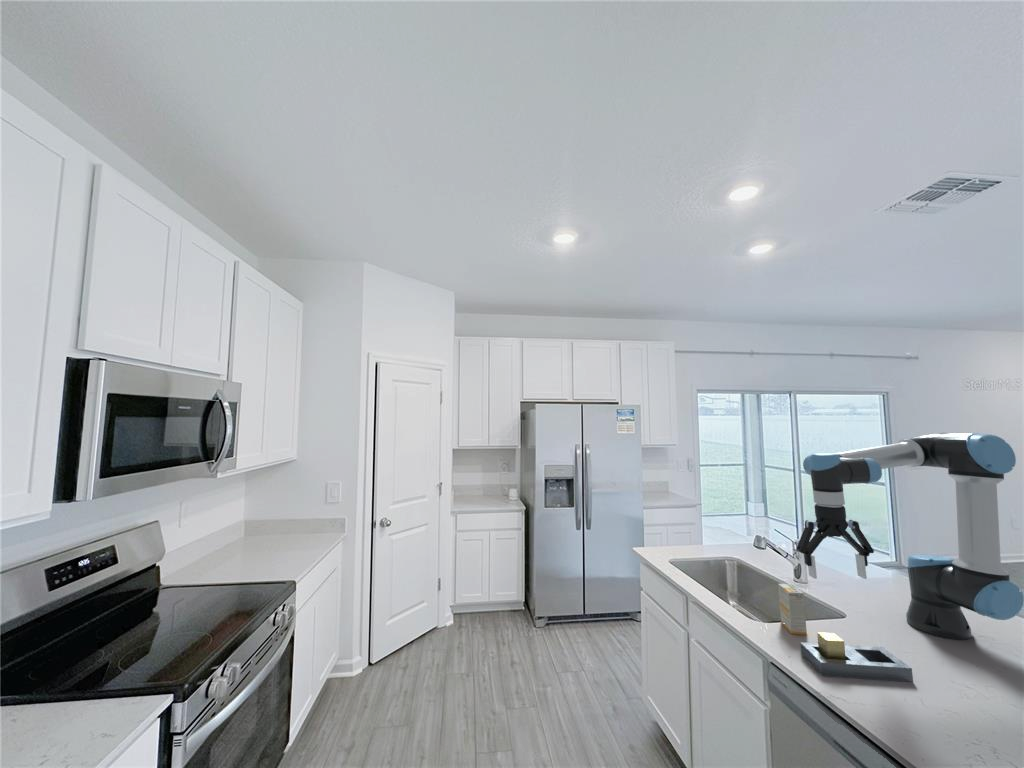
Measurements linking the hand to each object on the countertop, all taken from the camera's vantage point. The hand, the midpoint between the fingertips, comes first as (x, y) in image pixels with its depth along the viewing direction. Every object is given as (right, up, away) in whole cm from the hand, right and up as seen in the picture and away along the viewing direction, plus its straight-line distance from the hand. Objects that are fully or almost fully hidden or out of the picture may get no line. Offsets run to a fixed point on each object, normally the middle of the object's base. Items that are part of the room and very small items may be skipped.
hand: (837, 577), depth 124 cm
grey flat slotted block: (-2, -22, -8) cm, 23 cm away
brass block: (-7, -22, -7) cm, 24 cm away
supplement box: (-3, -24, +14) cm, 28 cm away
